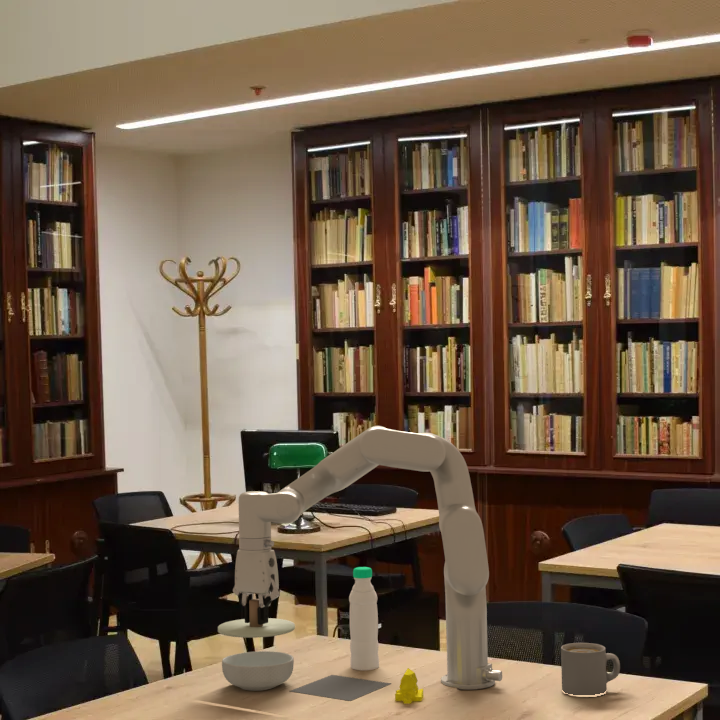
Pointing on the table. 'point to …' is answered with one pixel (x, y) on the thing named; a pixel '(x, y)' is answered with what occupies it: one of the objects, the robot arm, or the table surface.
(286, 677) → the cereal bowl
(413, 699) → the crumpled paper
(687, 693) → the table surface
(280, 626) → the lid
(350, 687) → the mat
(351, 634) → the water bottle
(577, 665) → the coffee mug
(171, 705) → the table surface
